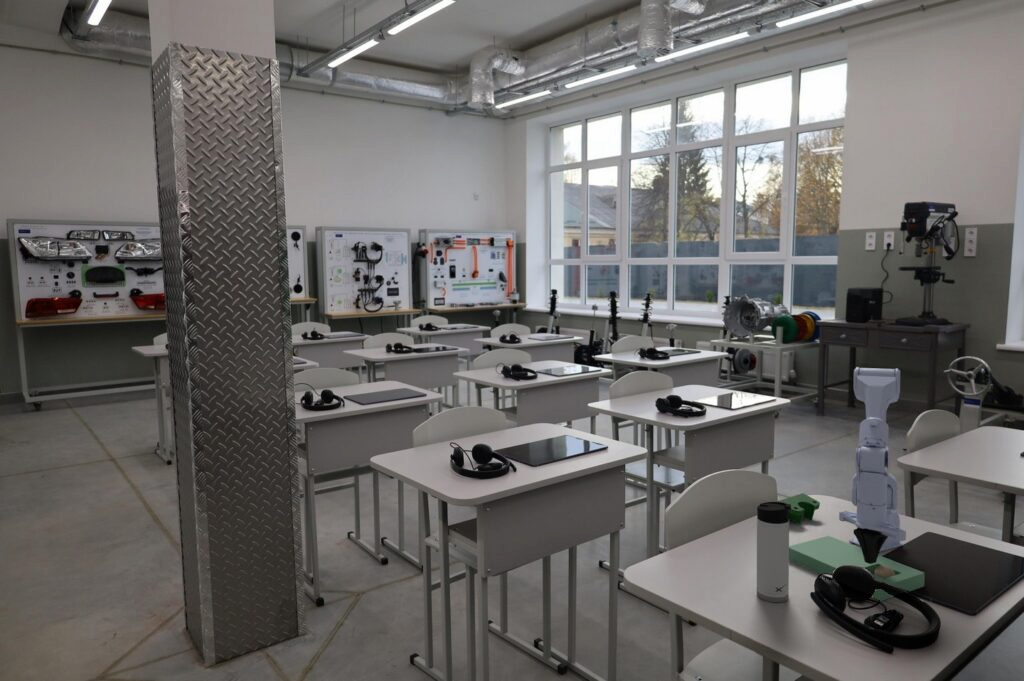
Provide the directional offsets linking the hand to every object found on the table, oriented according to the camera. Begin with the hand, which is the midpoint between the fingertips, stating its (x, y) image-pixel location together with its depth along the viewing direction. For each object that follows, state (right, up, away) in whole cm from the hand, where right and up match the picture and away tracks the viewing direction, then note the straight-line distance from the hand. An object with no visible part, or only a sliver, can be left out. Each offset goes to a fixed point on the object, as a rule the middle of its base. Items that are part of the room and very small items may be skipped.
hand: (870, 562), depth 147 cm
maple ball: (+2, -2, -2) cm, 4 cm away
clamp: (0, -1, +38) cm, 38 cm away
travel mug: (-23, -5, -6) cm, 25 cm away
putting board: (-2, -4, +4) cm, 6 cm away
